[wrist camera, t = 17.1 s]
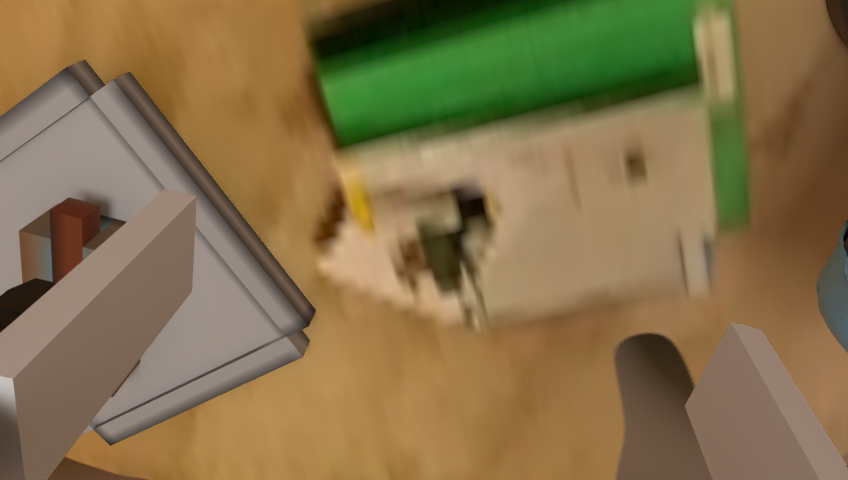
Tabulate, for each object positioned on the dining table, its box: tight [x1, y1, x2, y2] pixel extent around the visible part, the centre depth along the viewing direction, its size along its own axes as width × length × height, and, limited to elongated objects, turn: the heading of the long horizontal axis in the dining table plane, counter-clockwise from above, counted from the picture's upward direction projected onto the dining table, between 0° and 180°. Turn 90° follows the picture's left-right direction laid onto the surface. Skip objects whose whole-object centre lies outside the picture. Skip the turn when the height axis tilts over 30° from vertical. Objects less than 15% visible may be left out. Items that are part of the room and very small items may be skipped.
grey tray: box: [0, 60, 316, 446], centre depth 56 cm, size 30×30×8 cm
